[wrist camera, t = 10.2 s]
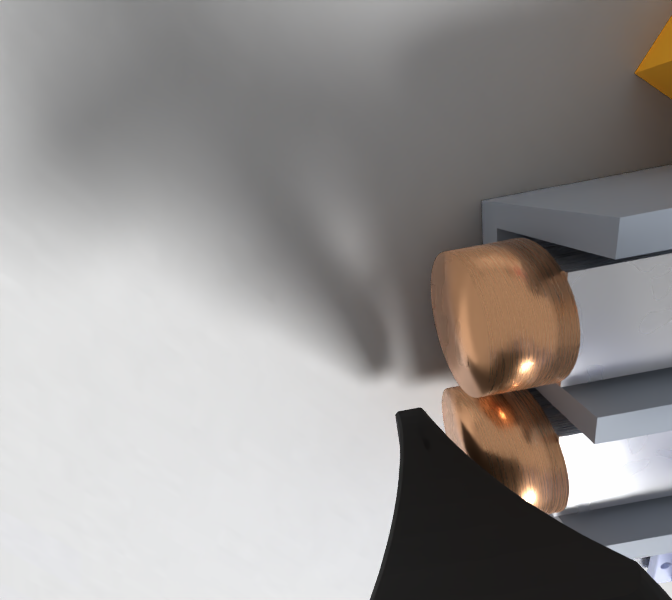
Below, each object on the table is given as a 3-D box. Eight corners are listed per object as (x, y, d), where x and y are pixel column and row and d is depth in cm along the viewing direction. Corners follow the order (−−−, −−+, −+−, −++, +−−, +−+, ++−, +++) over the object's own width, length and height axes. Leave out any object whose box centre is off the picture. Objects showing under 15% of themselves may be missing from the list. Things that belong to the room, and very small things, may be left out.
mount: (690, 395, 15) (895, 513, 9) (487, 432, 15) (580, 568, 10) (745, 150, 11) (1112, 124, 6) (481, 200, 11) (619, 218, 6)
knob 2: (643, 415, 13) (773, 508, 9) (445, 451, 13) (496, 557, 10) (659, 324, 12) (818, 391, 8) (438, 365, 12) (493, 450, 8)
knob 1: (660, 309, 12) (823, 371, 8) (435, 351, 12) (491, 432, 8) (680, 191, 10) (889, 198, 7) (425, 240, 10) (487, 273, 7)
